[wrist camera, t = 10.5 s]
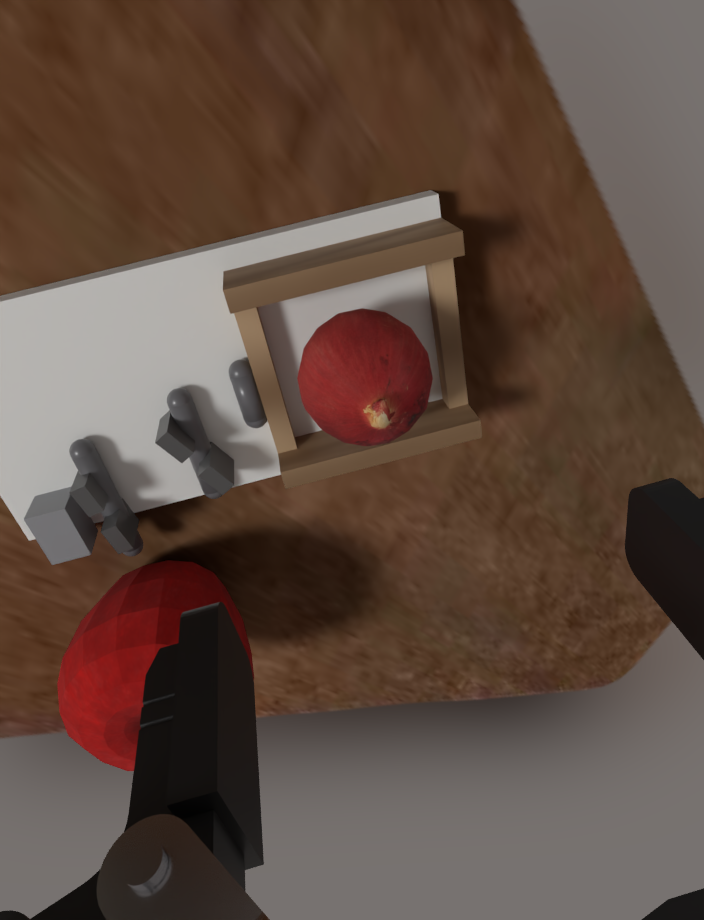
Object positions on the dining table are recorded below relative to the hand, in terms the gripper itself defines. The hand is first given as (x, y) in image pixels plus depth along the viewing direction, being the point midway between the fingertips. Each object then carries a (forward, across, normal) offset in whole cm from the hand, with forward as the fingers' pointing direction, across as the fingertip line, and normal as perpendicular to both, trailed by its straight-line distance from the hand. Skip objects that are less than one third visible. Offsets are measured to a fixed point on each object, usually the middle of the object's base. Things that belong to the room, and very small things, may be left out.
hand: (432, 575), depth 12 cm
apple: (+20, +13, +16) cm, 29 cm away
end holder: (+19, -1, +4) cm, 20 cm away
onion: (+20, -1, +4) cm, 20 cm away
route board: (+20, +6, +5) cm, 22 cm away
